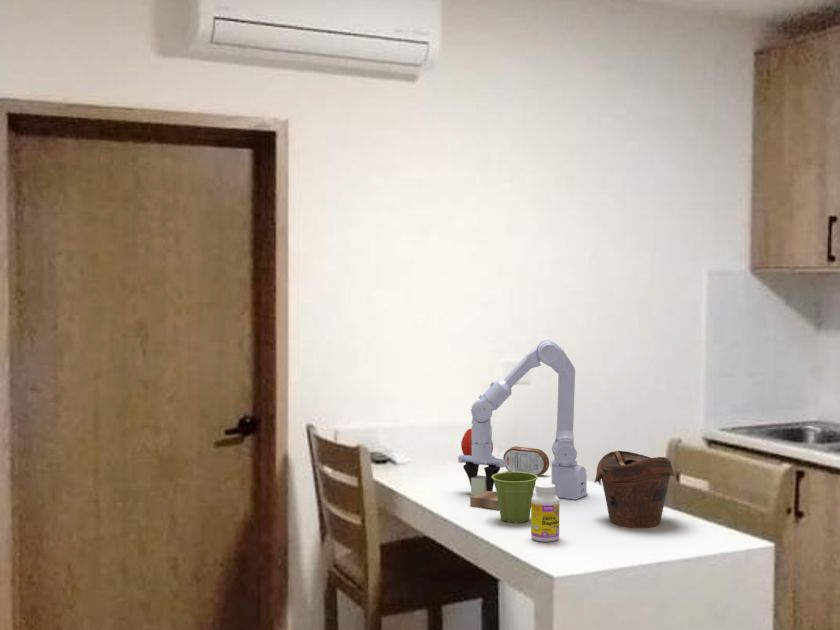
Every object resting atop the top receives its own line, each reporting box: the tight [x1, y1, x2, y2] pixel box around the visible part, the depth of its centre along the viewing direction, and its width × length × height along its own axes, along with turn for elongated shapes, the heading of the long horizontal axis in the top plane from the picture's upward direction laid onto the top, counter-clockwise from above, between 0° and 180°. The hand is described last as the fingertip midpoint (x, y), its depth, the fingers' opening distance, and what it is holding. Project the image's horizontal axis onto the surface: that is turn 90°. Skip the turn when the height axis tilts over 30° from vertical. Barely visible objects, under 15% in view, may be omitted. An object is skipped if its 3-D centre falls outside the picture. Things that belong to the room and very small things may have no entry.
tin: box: [503, 446, 550, 477], centre depth 313 cm, size 15×3×8 cm, turn 58°
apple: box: [460, 428, 494, 456], centre depth 341 cm, size 11×11×11 cm
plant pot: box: [492, 471, 539, 524], centre depth 255 cm, size 12×12×11 cm
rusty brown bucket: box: [594, 450, 675, 529], centre depth 253 cm, size 18×20×18 cm
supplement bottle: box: [530, 482, 560, 543], centre depth 237 cm, size 7×7×13 cm
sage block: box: [470, 474, 494, 497], centre depth 284 cm, size 4×4×5 cm
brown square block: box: [469, 490, 500, 512], centre depth 272 cm, size 9×9×3 cm
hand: (481, 489), depth 285 cm, fingers closed on sage block, 4 cm apart
